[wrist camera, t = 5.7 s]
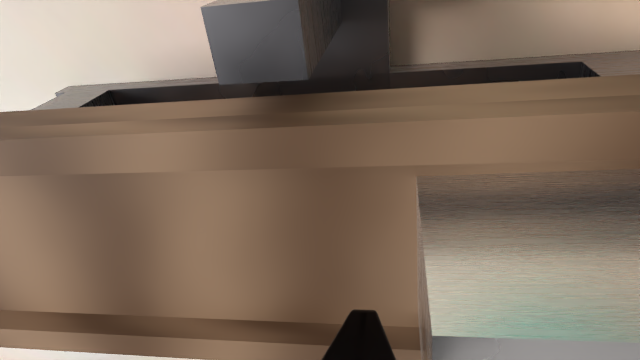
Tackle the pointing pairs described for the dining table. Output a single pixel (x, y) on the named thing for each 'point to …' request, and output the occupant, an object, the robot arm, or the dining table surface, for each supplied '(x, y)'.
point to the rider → (529, 266)
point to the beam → (262, 209)
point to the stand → (323, 58)
